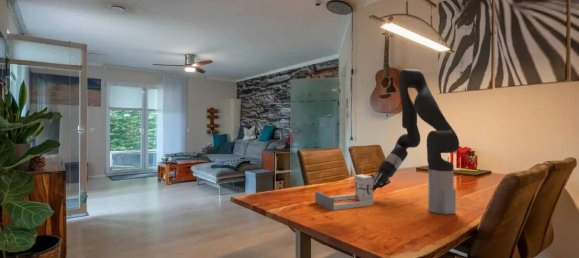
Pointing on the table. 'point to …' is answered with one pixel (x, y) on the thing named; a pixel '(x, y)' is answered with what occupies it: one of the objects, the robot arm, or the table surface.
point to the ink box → (363, 187)
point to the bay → (329, 201)
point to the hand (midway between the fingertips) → (369, 192)
